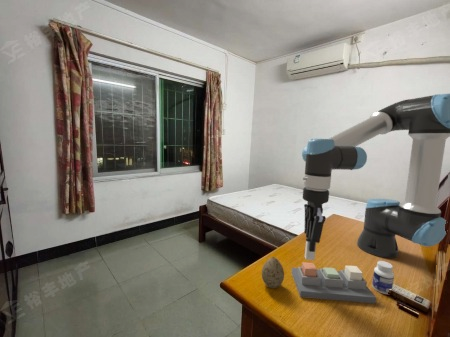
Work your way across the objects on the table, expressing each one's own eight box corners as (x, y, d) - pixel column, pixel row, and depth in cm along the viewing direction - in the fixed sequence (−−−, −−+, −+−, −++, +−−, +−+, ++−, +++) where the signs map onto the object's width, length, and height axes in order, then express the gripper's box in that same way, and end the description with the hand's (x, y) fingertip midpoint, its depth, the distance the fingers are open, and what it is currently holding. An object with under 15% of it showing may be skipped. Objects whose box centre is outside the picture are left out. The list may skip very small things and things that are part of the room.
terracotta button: (312, 271, 71) (313, 262, 71) (316, 278, 68) (316, 269, 68) (301, 270, 72) (302, 262, 71) (304, 277, 68) (305, 268, 68)
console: (354, 277, 75) (356, 265, 74) (375, 303, 63) (377, 289, 62) (291, 272, 77) (292, 261, 76) (300, 296, 65) (301, 283, 64)
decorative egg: (266, 276, 74) (267, 249, 73) (286, 284, 70) (288, 256, 69) (257, 287, 68) (258, 259, 67) (278, 297, 64) (280, 266, 63)
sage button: (333, 276, 71) (334, 268, 71) (338, 283, 68) (339, 274, 67) (322, 275, 71) (323, 267, 71) (326, 282, 68) (327, 273, 67)
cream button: (355, 274, 70) (356, 266, 70) (361, 281, 67) (362, 272, 66) (344, 273, 71) (345, 265, 70) (349, 280, 67) (350, 272, 67)
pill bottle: (369, 282, 73) (373, 258, 72) (388, 286, 71) (391, 261, 70) (374, 292, 68) (377, 266, 67) (394, 296, 66) (398, 270, 65)
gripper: (298, 183, 73) (293, 247, 76) (310, 192, 60) (303, 269, 63) (321, 184, 72) (314, 249, 75) (337, 194, 59) (329, 271, 62)
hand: (309, 258), depth 69 cm, fingers closed
